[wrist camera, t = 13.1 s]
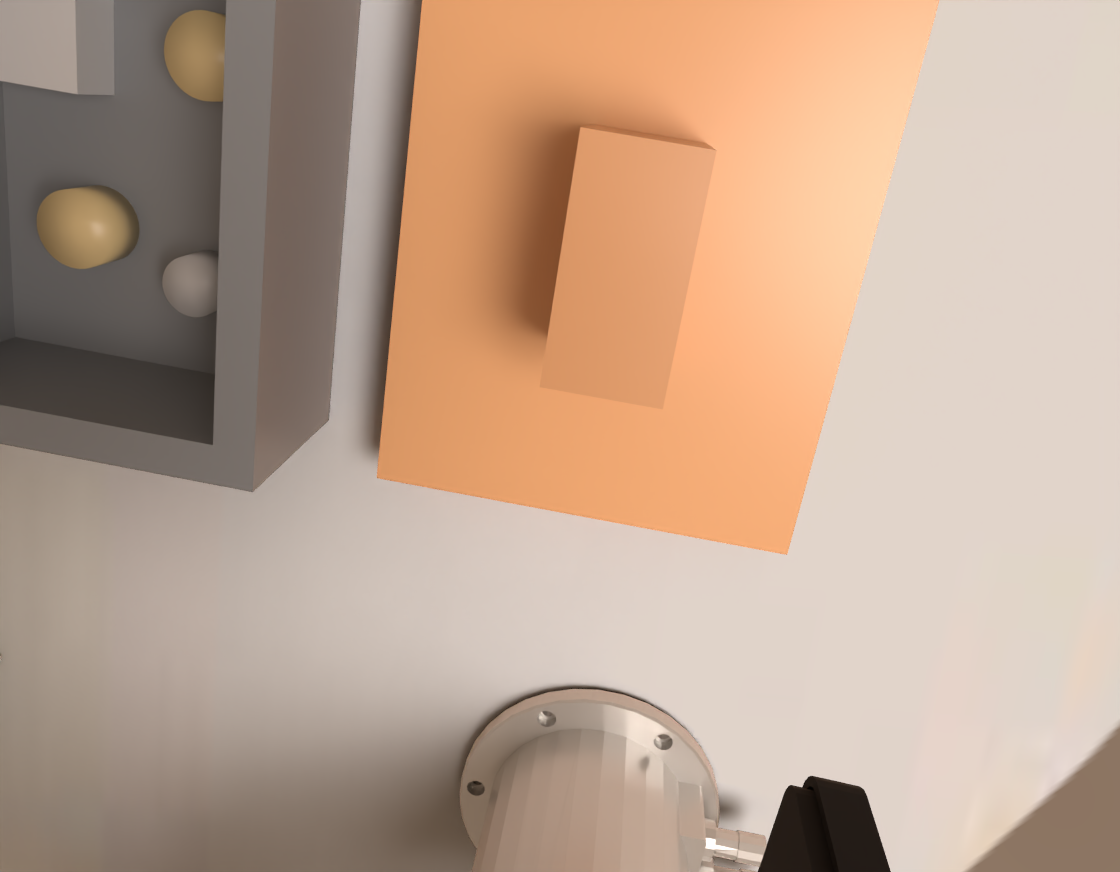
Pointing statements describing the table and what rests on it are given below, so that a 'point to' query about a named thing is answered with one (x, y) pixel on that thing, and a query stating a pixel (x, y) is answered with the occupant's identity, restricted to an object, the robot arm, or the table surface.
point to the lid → (639, 250)
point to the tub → (172, 228)
